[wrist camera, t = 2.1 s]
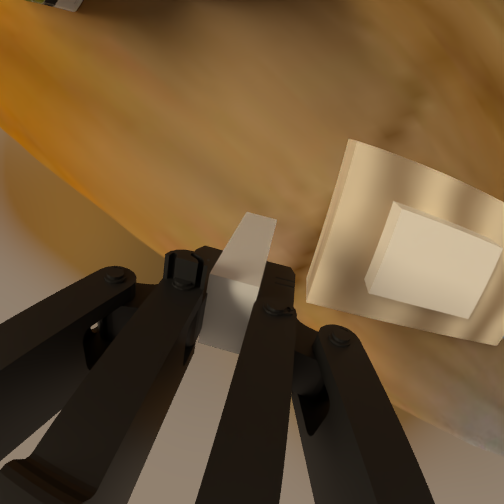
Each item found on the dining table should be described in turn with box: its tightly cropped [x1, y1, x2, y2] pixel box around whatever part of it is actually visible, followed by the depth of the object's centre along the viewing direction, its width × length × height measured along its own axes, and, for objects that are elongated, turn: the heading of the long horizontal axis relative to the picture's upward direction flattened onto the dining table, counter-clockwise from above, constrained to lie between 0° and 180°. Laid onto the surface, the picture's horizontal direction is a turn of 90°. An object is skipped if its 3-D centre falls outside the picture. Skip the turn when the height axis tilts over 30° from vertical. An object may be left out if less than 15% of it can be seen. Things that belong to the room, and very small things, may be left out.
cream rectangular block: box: [364, 201, 503, 319], centre depth 19 cm, size 9×6×2 cm, turn 78°
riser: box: [306, 139, 504, 346], centre depth 22 cm, size 20×12×4 cm, turn 78°
